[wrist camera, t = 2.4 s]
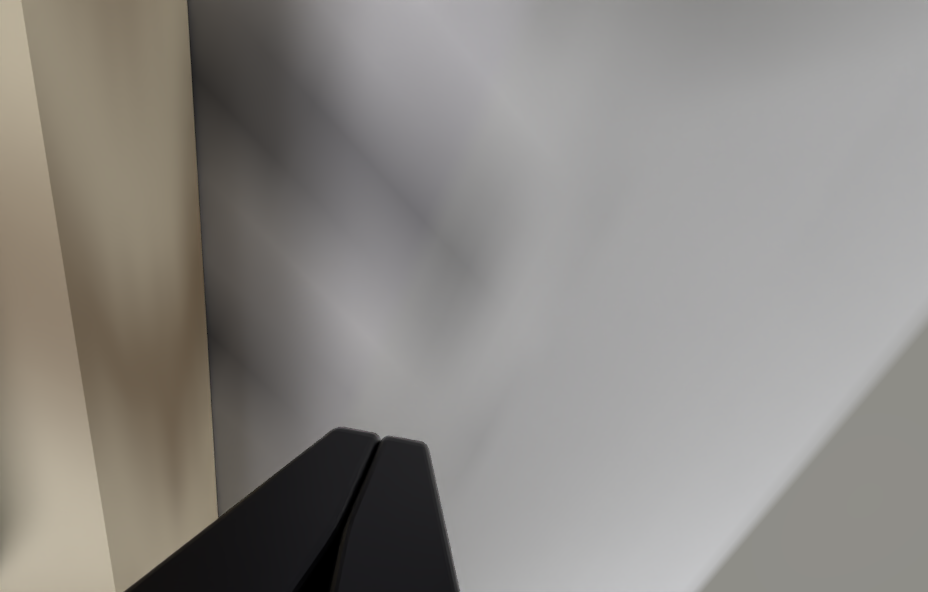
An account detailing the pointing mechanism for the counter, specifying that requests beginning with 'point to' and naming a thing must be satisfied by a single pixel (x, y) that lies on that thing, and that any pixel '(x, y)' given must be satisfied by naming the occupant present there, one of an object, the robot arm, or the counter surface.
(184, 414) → the panel
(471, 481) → the counter surface
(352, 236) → the counter surface
